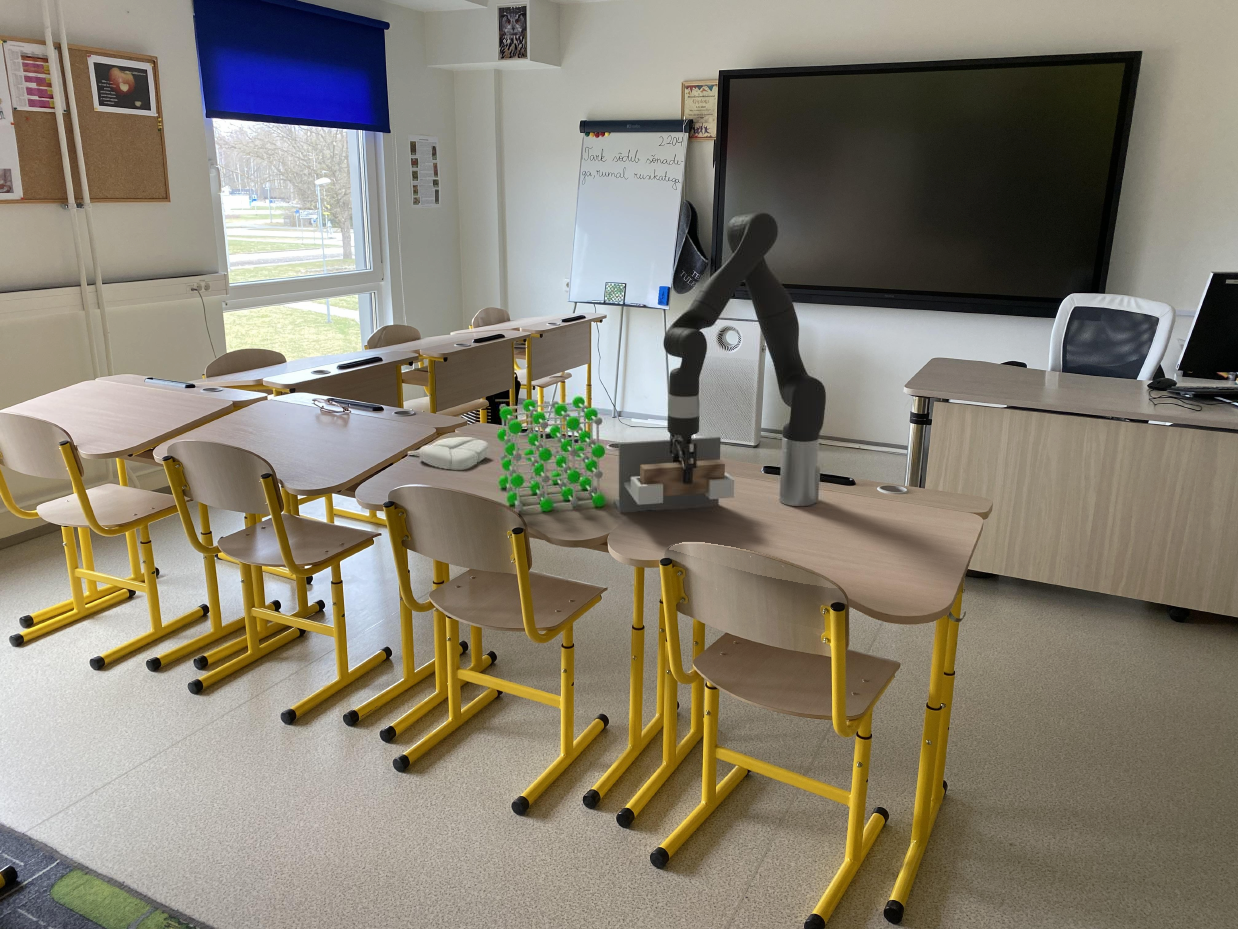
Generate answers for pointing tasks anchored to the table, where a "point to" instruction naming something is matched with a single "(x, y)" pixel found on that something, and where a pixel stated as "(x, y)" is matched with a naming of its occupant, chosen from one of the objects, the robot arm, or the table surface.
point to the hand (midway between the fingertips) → (682, 478)
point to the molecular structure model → (546, 453)
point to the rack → (652, 494)
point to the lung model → (453, 453)
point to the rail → (673, 476)
